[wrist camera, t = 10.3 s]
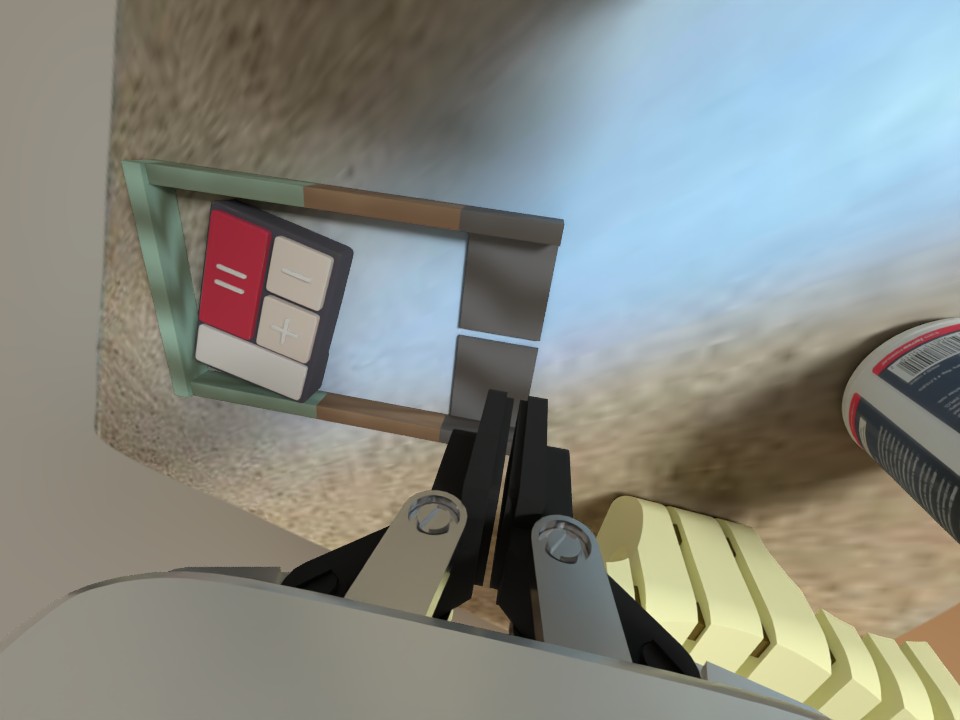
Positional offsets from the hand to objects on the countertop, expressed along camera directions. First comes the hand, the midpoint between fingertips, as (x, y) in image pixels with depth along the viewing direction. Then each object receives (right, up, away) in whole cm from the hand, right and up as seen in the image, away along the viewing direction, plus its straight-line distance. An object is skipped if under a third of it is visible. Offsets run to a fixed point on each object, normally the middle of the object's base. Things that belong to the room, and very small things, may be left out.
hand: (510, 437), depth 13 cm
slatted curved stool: (+18, -18, +34) cm, 42 cm away
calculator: (-19, +8, +28) cm, 35 cm away
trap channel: (-12, +7, +27) cm, 31 cm away
